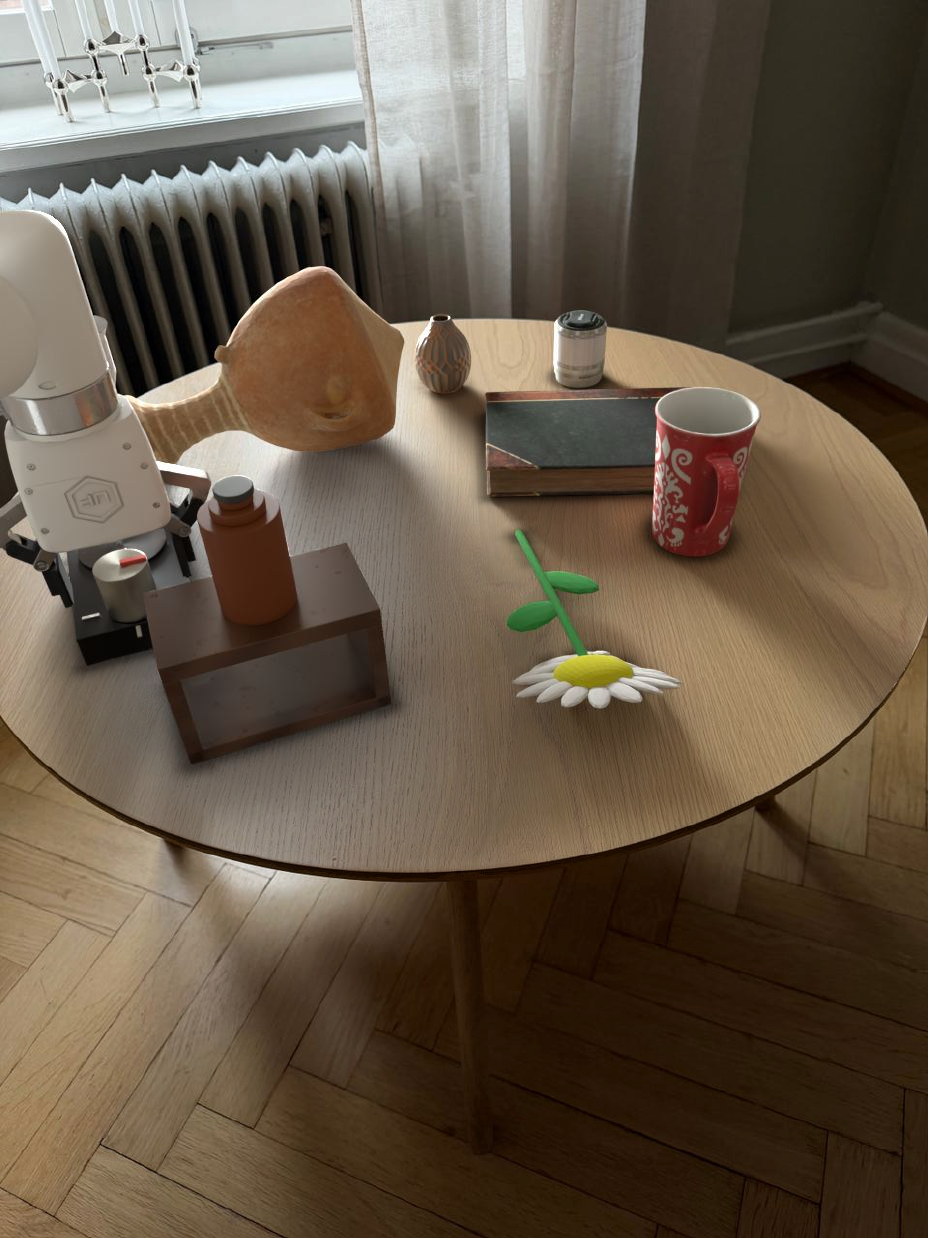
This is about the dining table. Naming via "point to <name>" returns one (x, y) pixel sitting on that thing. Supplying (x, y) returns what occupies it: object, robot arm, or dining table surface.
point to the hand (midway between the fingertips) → (128, 582)
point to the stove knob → (124, 583)
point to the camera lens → (579, 348)
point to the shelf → (270, 657)
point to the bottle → (247, 552)
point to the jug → (292, 374)
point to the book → (572, 441)
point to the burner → (126, 547)
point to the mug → (700, 467)
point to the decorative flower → (577, 651)
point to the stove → (91, 618)
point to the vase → (442, 356)
